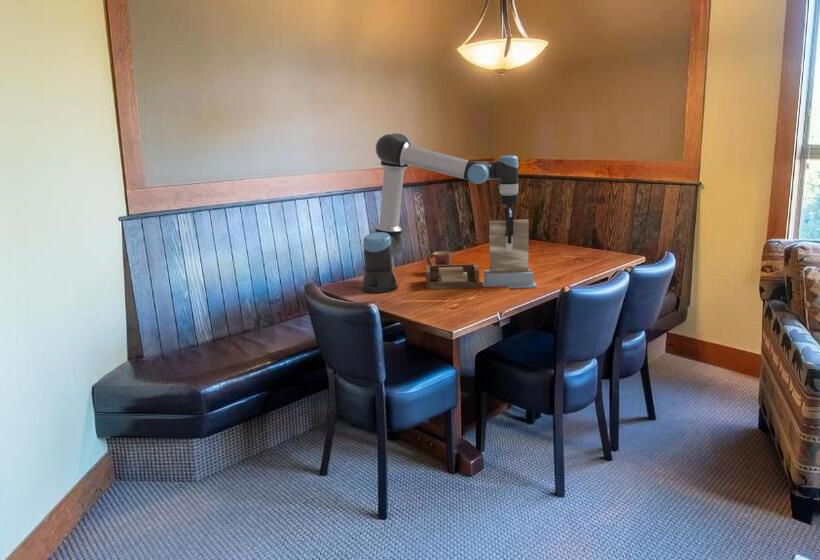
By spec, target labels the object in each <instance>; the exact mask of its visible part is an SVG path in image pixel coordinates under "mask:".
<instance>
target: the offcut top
mask: <svg viewBox="0 0 820 560" xmlns="http://www.w3.org/2000/svg"><path fill="white" fill-rule="evenodd" d="M451 275H463V268H462V267H445V268H439V276H451Z"/></svg>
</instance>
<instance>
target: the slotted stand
mask: <svg viewBox="0 0 820 560" xmlns="http://www.w3.org/2000/svg"><path fill="white" fill-rule="evenodd" d="M532 270H533V269H531V268H528V272H519V273H490V269H488V270H487V269H485V270H483V274H484V275H483V280H481V283H482V286H483V287H484V288H488V287H489V288H490V287H491V288H492V287H493V288H495V287H508V289H537V284H536V282H535V281H534V276H535V274H534V272H533V271H532Z"/></svg>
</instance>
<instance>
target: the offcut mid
mask: <svg viewBox="0 0 820 560" xmlns="http://www.w3.org/2000/svg"><path fill="white" fill-rule="evenodd" d="M442 281H468V275H467V272H463V275H451V276H441V282H442Z"/></svg>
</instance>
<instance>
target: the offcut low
mask: <svg viewBox="0 0 820 560" xmlns="http://www.w3.org/2000/svg"><path fill="white" fill-rule="evenodd" d="M438 283H467V281H442V282H441V279H438Z"/></svg>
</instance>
